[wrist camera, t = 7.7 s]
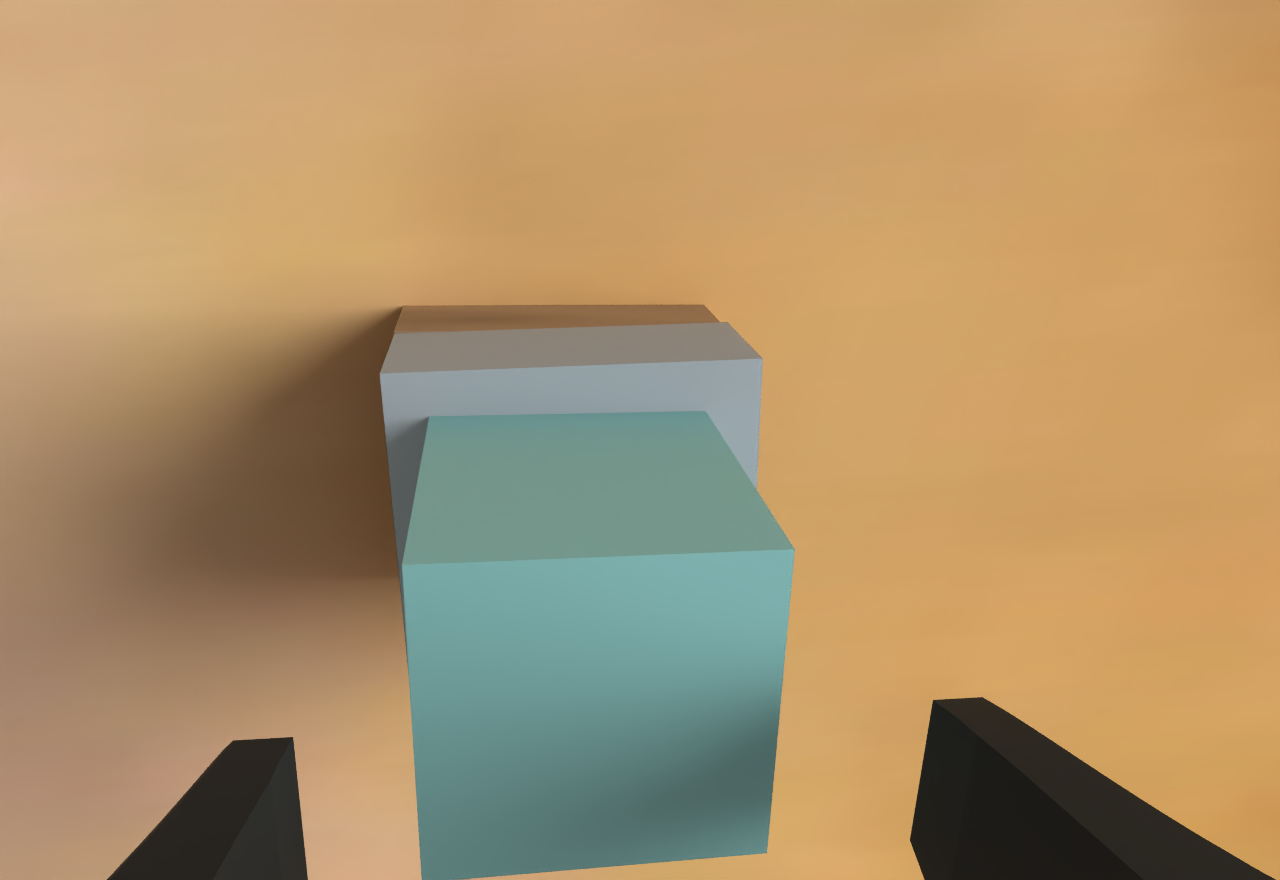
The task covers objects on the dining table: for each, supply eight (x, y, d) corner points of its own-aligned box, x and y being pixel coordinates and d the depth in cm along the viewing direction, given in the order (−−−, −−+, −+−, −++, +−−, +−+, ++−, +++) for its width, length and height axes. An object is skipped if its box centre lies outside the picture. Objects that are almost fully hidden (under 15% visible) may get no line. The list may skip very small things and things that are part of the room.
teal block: (693, 645, 17) (766, 853, 13) (441, 659, 17) (421, 882, 12) (705, 411, 16) (794, 549, 11) (429, 416, 15) (401, 564, 11)
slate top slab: (718, 607, 20) (748, 677, 18) (420, 629, 19) (411, 705, 17) (727, 322, 18) (763, 358, 16) (394, 333, 17) (380, 373, 15)
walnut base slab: (686, 557, 22) (709, 613, 20) (419, 569, 22) (411, 628, 19) (699, 300, 20) (726, 329, 18) (404, 301, 19) (393, 331, 17)
